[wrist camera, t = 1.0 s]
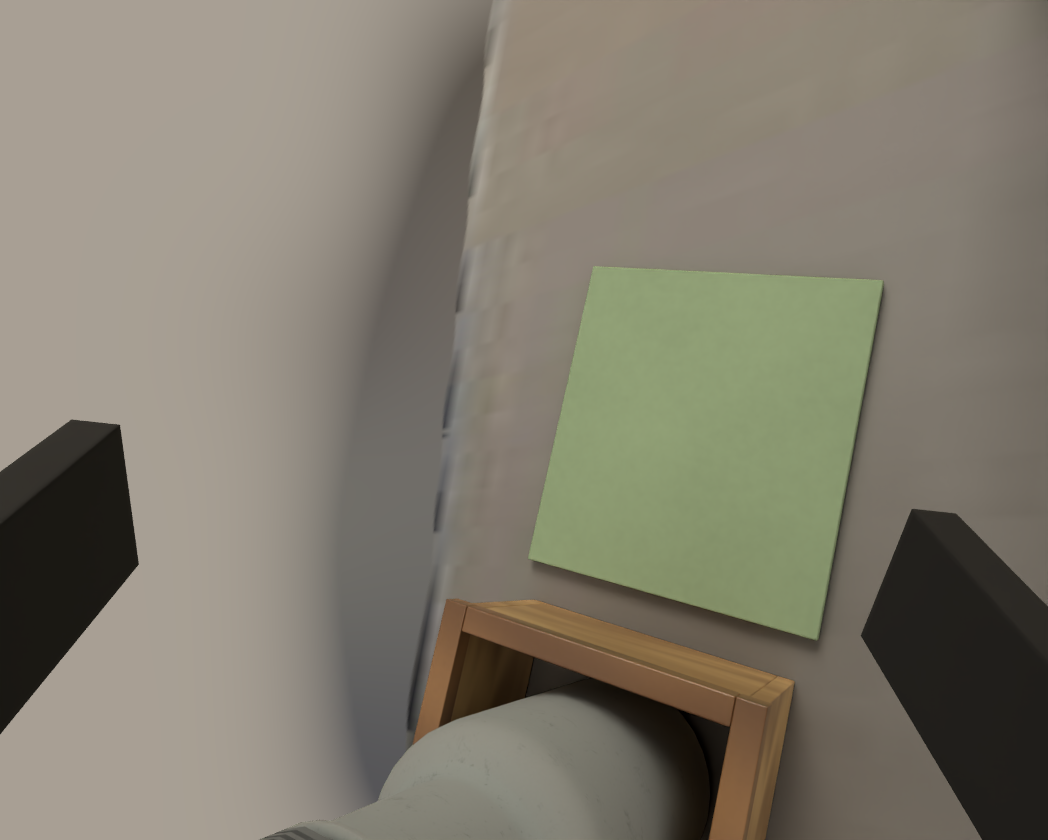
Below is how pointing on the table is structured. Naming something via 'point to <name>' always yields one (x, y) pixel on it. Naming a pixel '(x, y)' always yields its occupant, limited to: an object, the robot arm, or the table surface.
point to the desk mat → (710, 438)
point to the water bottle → (542, 775)
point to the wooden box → (625, 662)
